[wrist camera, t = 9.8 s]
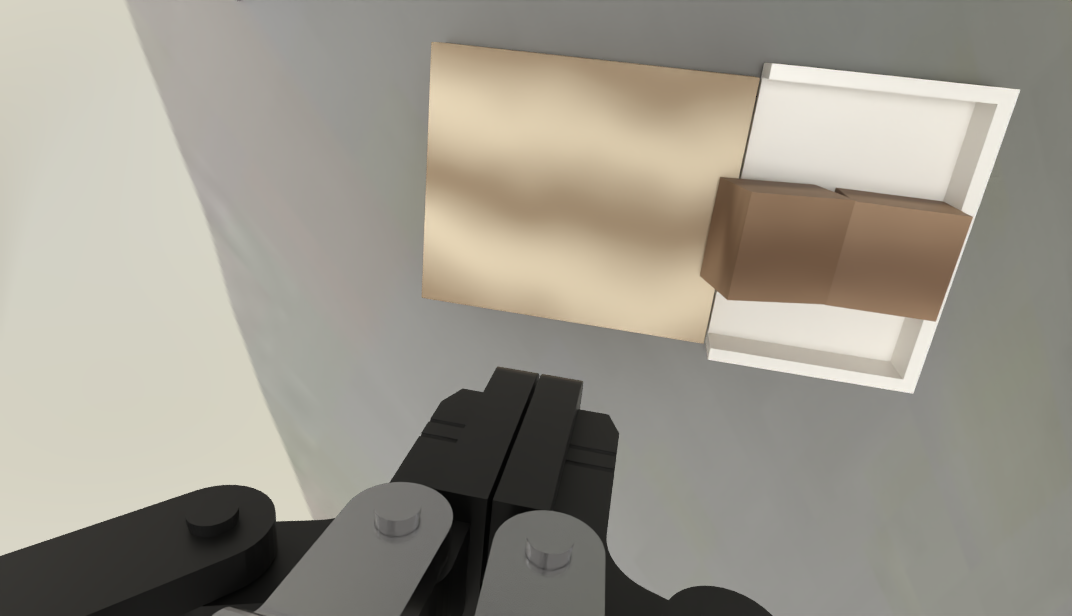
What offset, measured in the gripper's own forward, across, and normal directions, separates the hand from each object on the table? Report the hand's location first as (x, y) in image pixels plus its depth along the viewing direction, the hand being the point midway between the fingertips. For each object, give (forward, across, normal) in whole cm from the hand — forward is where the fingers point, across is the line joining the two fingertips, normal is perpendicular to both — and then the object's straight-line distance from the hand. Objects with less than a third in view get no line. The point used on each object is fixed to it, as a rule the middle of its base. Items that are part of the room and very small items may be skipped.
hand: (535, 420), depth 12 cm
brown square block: (+20, -6, +1) cm, 21 cm away
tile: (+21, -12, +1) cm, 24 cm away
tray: (+22, -10, 0) cm, 24 cm away
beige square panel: (+22, +2, 0) cm, 22 cm away
